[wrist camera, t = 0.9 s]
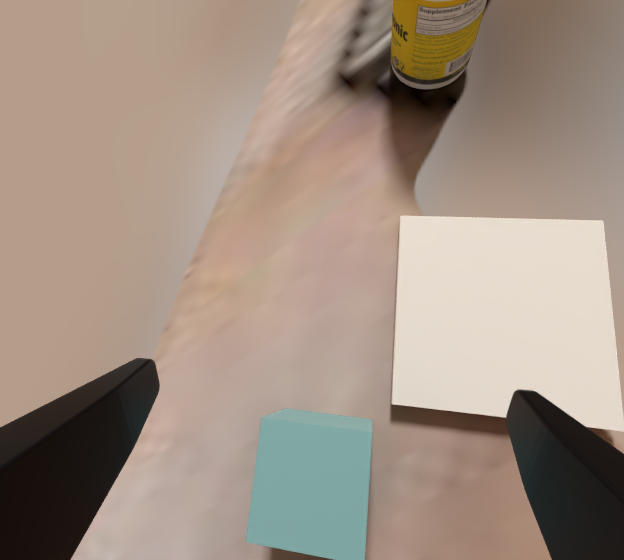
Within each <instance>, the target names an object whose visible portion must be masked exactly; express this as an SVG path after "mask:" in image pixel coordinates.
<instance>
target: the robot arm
mask: <svg viewBox="0 0 624 560" xmlns="http://www.w3.org/2000/svg"><path fill="white" fill-rule="evenodd" d="M159 387H160V384H159V379H158V374H157V369H156V365H155V362H154V361H153V360H152V359H144V358H136V359H134V360H132V361H130V362H128V363H126V364H124V365H122V366H120V367H118V368H116V369H115V370H113V371H111V372H109V373H107V374H105V375H103V376H101V377H99V378H97V379H95V380H93V381H91V382H89V383H87V384H85V385H83V386H81V387H79V388H77V389H75V390H73V391H71V392H69V393H68V394H65V395H63V396H61V397H59V398H57V399H56V400H54V401H52V402H50V403H48V404H46V405H44V406H42V407H40V408H38V409H36V410H34V411H32V412H30V413H28V414H26V415H24V416H22V417H20V418H18V419H16V420H14V421H12V422H10V423H8V424H6V425H5V426H2V427H0V560H70V559H71V558H72V556H73V554H74V552H75V551H76V549H77V547H78V545H79V544H80V542H81V540H82V538H83V537H84V535H85V533H86V531H87V530H88V528H89V526H90V524H91V522H92V521H93V519H94V517H95V515H96V514H97V512H98V510H99V508H100V507H101V505H102V503H103V501H104V500H105V498H106V496H107V494H108V493H109V491H110V489H111V487H112V485H113V484H114V482H115V480H116V478H117V477H118V475H119V473H120V471H121V470H122V468H123V466H124V464H125V463H126V461H127V459H128V457H129V455H130V454H131V452H132V450H133V448H134V446H135V444H136V442H137V440H138V438H139V435H140V433H141V431H142V429H143V426H144V424H145V422H146V420H147V417H148V415H149V413H150V411H151V408H152V406H153V404H154V402H155V399H156V397H157V395H158V392H159ZM506 424H507V428H508V432H509V435H510V439H511V443H512V446H513V450H514V453H515V457H516V461H517V464H518V468H519V472H520V475H521V479H522V482H523V485H524V489H525V491H526V494H527V497H528V500H529V502H530V505H531V507H532V510H533V512H534V515H535V518H536V520H537V523H538V525H539V528H540V530H541V533H542V535H543V538H544V541H545V543H546V546H547V548H548V551H549V553H550V556H551V558H552V560H624V454H623V453H622V452H620V451H619V450H618V449H616V448H615V447H613V446H612V445H611V444H609V443H608V442H606V441H605V440H604V439H602V438H601V437H599V436H598V435H597V434H595V433H594V432H592V431H591V430H590V429H588V428H587V427H585V426H584V425H583V424H581V423H580V422H578V421H577V420H576V419H574V418H573V417H571V416H570V415H569V414H567V413H566V412H564V411H563V410H561V409H560V408H559V407H557V406H556V405H554V404H553V403H552V402H550V401H549V400H547V399H546V398H545V397H543V396H542V395H540V394H539V393H538V392H536V391H533V390H523V389H518V390H515V392H514V393H513V396H512V399H511V402H510V405H509V408H508V411H507V415H506Z"/></svg>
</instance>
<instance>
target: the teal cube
mask: <svg viewBox="0 0 624 560" xmlns="http://www.w3.org/2000/svg"><path fill="white" fill-rule="evenodd" d="M371 444H372V419H365V418H357V417H349V416H342V415H334V414H326V413H318V412H310V411H303V410H295V409H287V408H286V409H283V410H281V411H278V412H275V413H273V414H270V415H267V416H265V417H262V419H261V427H260V435H259V443H258V450H257V458H256V466H255V474H254V481H253V489H252V497H251V505H250V513H249V520H248V528H247V536H246V542H248V543H253V544H258V545H263V546H268V547H273V548H278V549H283V550H288V551H293V552H298V553H303V554H308V555H313V556H318V557H323V558H328V559H333V560H365V546H366V529H367V512H368V495H369V478H370V461H371Z"/></svg>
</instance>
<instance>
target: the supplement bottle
mask: <svg viewBox="0 0 624 560" xmlns="http://www.w3.org/2000/svg"><path fill="white" fill-rule="evenodd" d="M486 2H487V0H393V15H392V39H391V65H392V69H393V71H394V73H395V75H396V76H397V78H398V79H399V80H400V81H401V82H403V83H404V84H406V85H408V86H410V87H413V88H417V89H436V88H440V87H443V86H446V85H448V84H450V83H452V82H453V81H455V80H456V79H457V78H458V77H459V76H460V75H461V74H462V73H463V72H464V70H465V69H466V67H467V65H468V62H469V59H470V56H471V53H472V50H473V46H474V43H475V40H476V36H477V33H478V29H479V26H480V22H481V19H482V15H483V12H484V9H485V6H486Z"/></svg>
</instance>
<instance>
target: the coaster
mask: <svg viewBox="0 0 624 560" xmlns="http://www.w3.org/2000/svg"><path fill="white" fill-rule="evenodd" d="M518 389H523V390H533V391H536V392H538V393H539V394H540V395H542V396H543V397H545V398H546V399H547V400H549V401H550V402H552V403H553V404H554V405H556V406H557V407H559V408H560V409H561V410H563V411H564V412H566V413H567V414H569V415H570V416H571V417H573V418H574V419H576V420H577V421H578V422H580V423H581V424H583V425H584V426H585V427H591V428H599V429H608V430H617V431H624V419H623V409H622V399H621V389H620V379H619V370H618V360H617V350H616V340H615V331H614V321H613V311H612V302H611V292H610V282H609V273H608V263H607V252H606V243H605V233H604V223H603V221H593V220H553V219H514V218H473V217H472V218H471V217H434V216H400V221H399V240H398V262H397V284H396V305H395V327H394V349H393V371H392V392H391V404H395V405H403V406H412V407H420V408H429V409H437V410H446V411H454V412H463V413H471V414H480V415H488V416H497V417H506V415H507V411H508V408H509V405H510V402H511V399H512V396H513V393H514V392H515V390H518Z"/></svg>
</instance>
